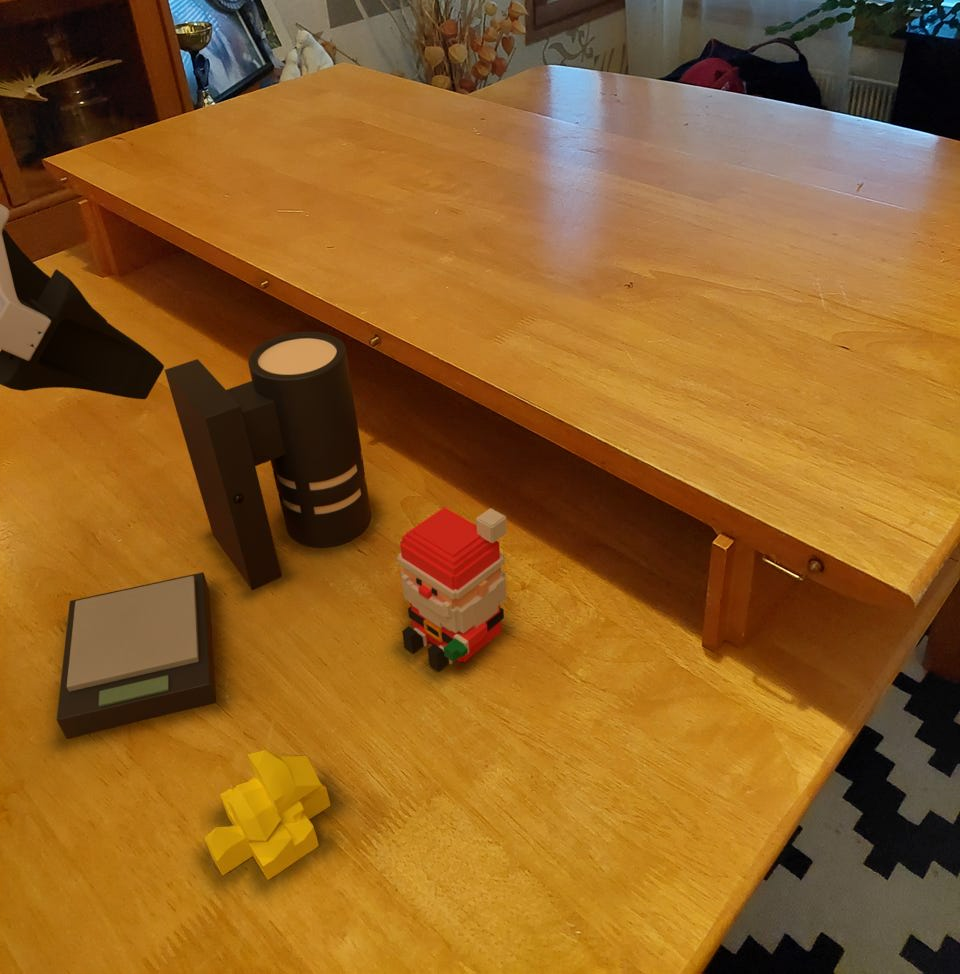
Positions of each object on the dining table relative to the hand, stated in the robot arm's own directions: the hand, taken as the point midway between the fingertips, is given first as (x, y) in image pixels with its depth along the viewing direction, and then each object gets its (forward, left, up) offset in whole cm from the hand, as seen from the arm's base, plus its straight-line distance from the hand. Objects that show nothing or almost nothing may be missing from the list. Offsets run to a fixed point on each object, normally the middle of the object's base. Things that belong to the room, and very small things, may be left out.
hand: (123, 356), depth 50 cm
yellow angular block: (-3, -9, -31) cm, 33 cm away
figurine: (+17, -4, -31) cm, 36 cm away
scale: (-2, +12, -31) cm, 34 cm away
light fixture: (+15, +16, -31) cm, 39 cm away
